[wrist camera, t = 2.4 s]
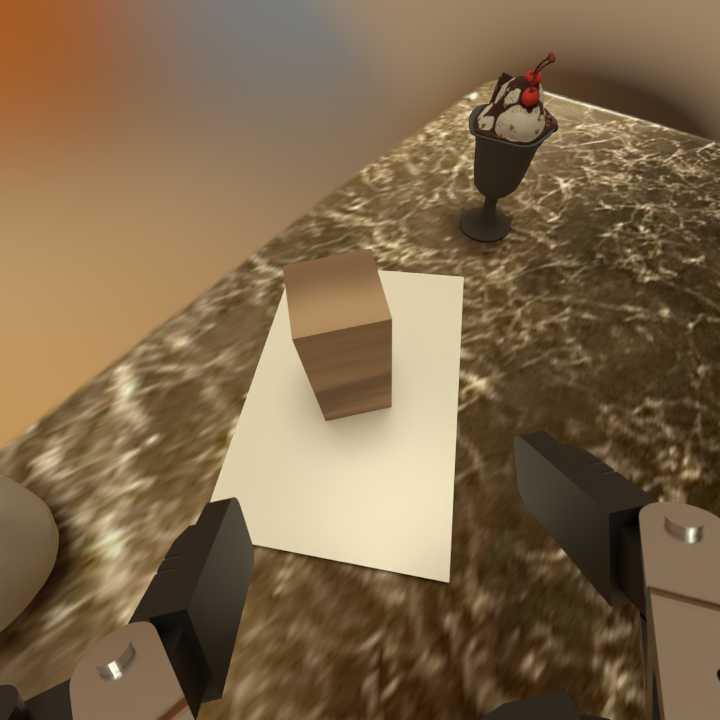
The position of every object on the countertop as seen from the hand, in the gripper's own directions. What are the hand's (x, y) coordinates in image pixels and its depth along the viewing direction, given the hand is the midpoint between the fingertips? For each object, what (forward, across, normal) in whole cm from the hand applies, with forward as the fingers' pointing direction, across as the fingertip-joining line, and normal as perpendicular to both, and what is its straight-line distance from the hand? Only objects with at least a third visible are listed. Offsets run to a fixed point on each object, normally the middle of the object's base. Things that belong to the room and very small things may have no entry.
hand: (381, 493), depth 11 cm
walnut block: (+18, 0, +3) cm, 18 cm away
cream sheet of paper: (+19, 0, +3) cm, 19 cm away
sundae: (+30, -16, -7) cm, 35 cm away
